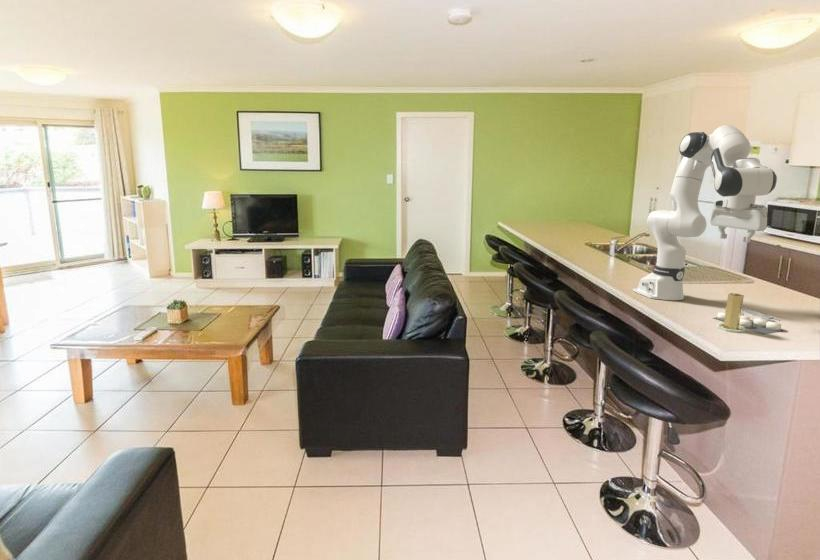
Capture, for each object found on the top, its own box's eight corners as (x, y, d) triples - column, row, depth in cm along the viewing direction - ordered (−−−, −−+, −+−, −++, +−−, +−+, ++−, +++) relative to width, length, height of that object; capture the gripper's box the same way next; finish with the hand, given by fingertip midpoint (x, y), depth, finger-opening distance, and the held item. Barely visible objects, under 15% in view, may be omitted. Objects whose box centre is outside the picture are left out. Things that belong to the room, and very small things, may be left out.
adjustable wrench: (728, 306, 213) (728, 302, 212) (743, 306, 213) (744, 302, 212) (766, 324, 188) (767, 319, 188) (784, 324, 188) (785, 320, 188)
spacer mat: (711, 320, 192) (712, 313, 192) (734, 316, 196) (735, 310, 196) (762, 336, 174) (763, 329, 173) (786, 332, 178) (787, 325, 177)
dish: (710, 328, 183) (711, 324, 183) (728, 325, 186) (728, 321, 185) (732, 335, 175) (733, 331, 175) (750, 333, 178) (751, 329, 177)
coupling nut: (721, 329, 180) (727, 294, 177) (726, 326, 183) (731, 292, 180) (734, 332, 177) (740, 296, 174) (739, 329, 180) (745, 294, 177)
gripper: (774, 205, 175) (768, 243, 178) (721, 201, 193) (716, 236, 197) (761, 205, 173) (755, 244, 176) (709, 201, 191) (704, 237, 195)
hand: (734, 240), depth 186 cm, fingers open, 8 cm apart
